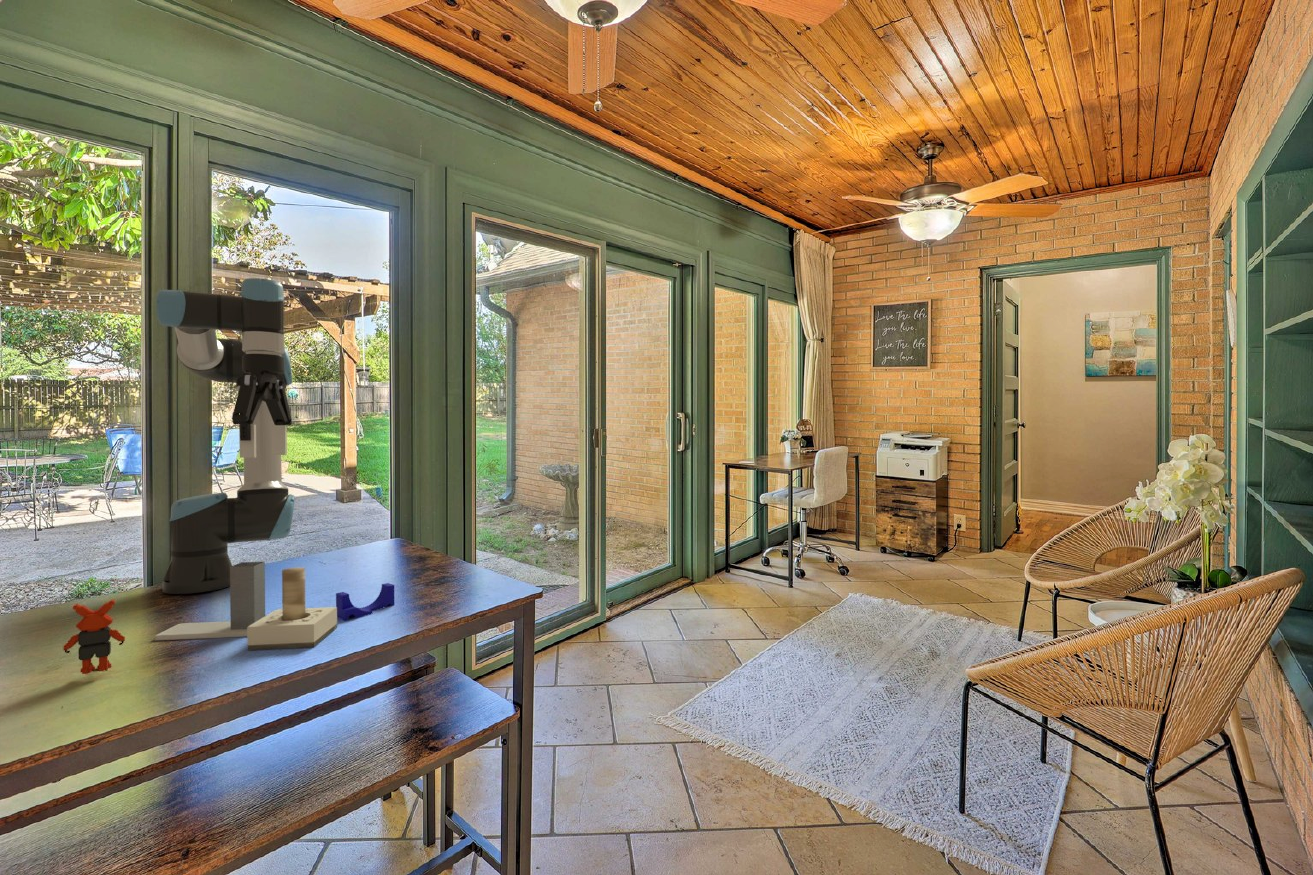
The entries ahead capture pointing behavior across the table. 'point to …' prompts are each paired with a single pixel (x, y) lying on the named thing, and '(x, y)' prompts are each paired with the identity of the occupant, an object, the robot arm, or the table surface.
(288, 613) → the beech dowel
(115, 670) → the table surface
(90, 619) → the toy animal
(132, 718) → the table surface
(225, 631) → the strip
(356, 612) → the blue curved cradle
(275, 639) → the socket block
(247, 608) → the square bar
